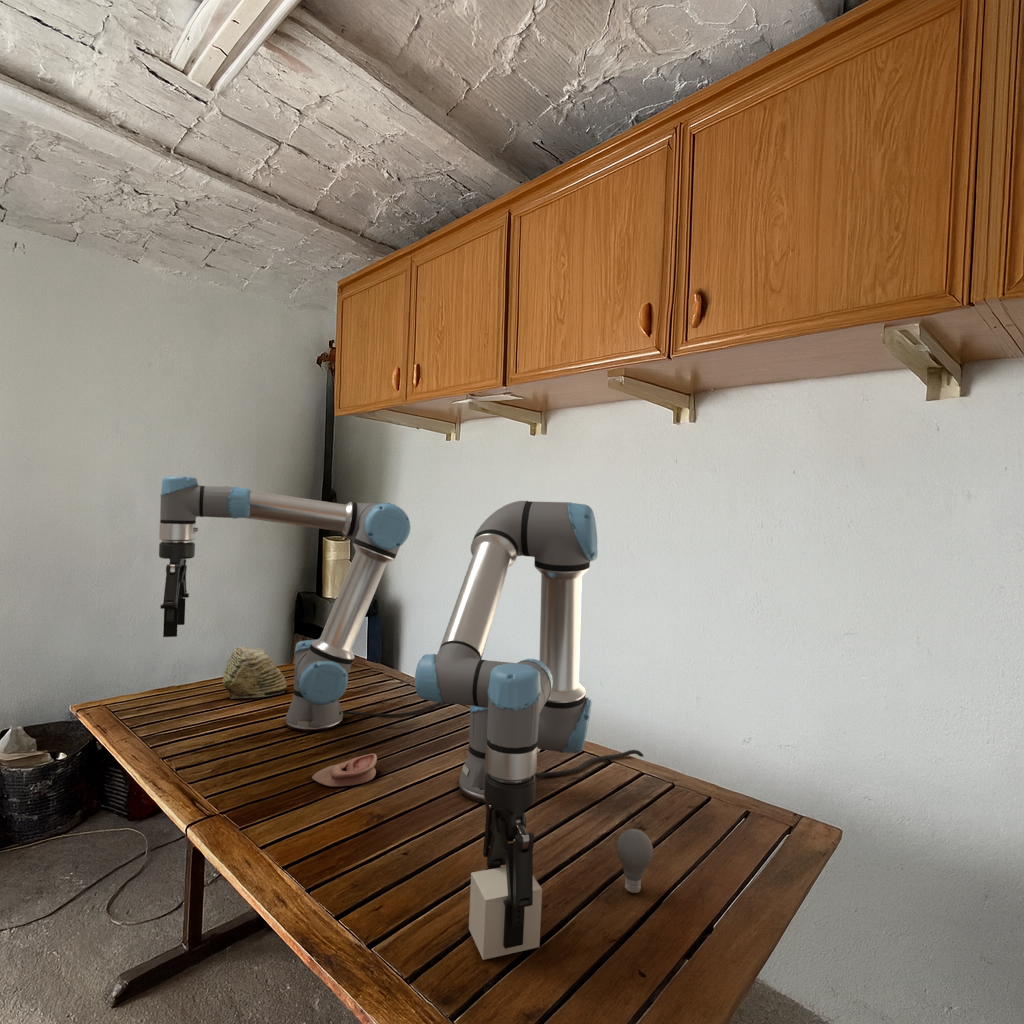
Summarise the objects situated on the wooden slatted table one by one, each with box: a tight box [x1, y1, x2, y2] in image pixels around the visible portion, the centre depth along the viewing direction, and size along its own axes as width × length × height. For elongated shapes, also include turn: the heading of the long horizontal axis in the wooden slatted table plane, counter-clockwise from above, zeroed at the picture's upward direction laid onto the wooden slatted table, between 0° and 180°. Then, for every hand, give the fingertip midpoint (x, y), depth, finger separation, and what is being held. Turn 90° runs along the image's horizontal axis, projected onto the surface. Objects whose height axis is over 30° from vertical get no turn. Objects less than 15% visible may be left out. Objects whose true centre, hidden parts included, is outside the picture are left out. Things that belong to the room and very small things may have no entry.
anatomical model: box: [311, 753, 378, 788], centre depth 144 cm, size 13×4×12 cm
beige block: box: [468, 866, 543, 961], centre depth 93 cm, size 9×7×8 cm
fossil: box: [222, 646, 288, 699], centre depth 198 cm, size 9×18×15 cm, turn 132°
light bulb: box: [615, 828, 654, 894], centre depth 106 cm, size 6×6×10 cm
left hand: (174, 630), depth 151 cm, fingers open, 13 cm apart
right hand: (503, 927), depth 93 cm, fingers closed on beige block, 7 cm apart
